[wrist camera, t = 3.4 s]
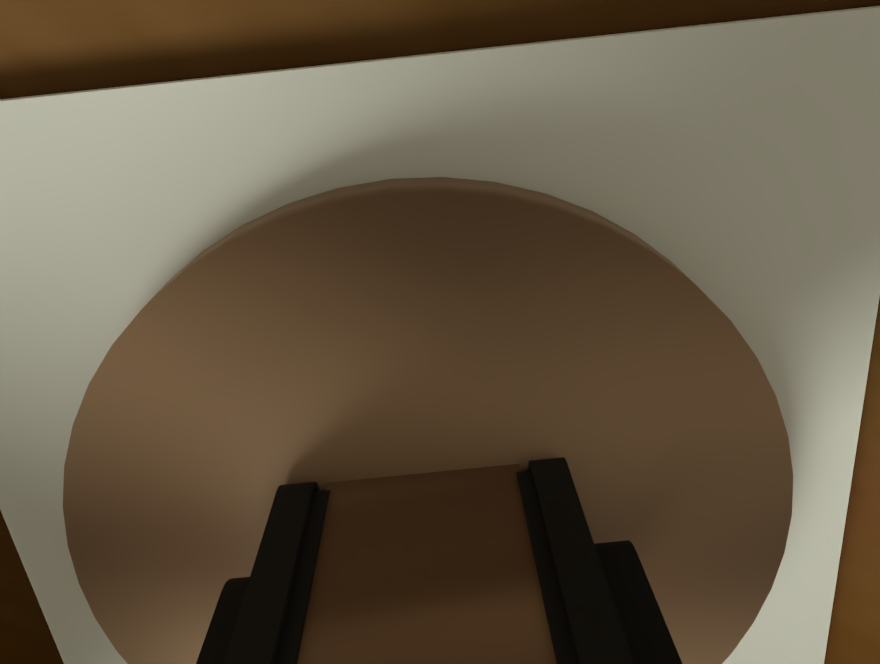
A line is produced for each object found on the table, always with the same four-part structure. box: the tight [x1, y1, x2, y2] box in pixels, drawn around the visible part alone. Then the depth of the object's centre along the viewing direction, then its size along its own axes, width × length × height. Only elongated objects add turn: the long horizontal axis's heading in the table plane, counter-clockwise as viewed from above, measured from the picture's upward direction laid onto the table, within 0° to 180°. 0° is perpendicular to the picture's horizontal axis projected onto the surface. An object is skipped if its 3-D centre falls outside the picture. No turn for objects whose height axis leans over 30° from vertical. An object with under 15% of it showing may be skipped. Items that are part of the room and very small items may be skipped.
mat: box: [0, 6, 880, 664], centre depth 12 cm, size 14×14×1 cm
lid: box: [63, 177, 793, 664], centre depth 9 cm, size 11×11×6 cm
